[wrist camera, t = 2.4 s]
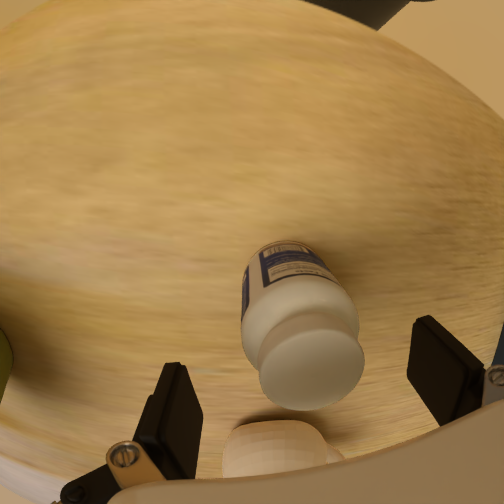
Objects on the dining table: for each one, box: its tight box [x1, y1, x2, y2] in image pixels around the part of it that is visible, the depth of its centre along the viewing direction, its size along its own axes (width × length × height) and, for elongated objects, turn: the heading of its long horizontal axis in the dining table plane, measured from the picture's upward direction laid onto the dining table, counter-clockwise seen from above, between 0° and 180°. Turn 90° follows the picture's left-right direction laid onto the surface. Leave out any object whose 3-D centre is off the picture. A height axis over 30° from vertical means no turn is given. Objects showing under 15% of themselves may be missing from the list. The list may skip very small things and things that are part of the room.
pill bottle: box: [241, 241, 365, 411], centre depth 15 cm, size 5×5×10 cm
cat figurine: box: [222, 420, 346, 478], centre depth 17 cm, size 9×12×15 cm
